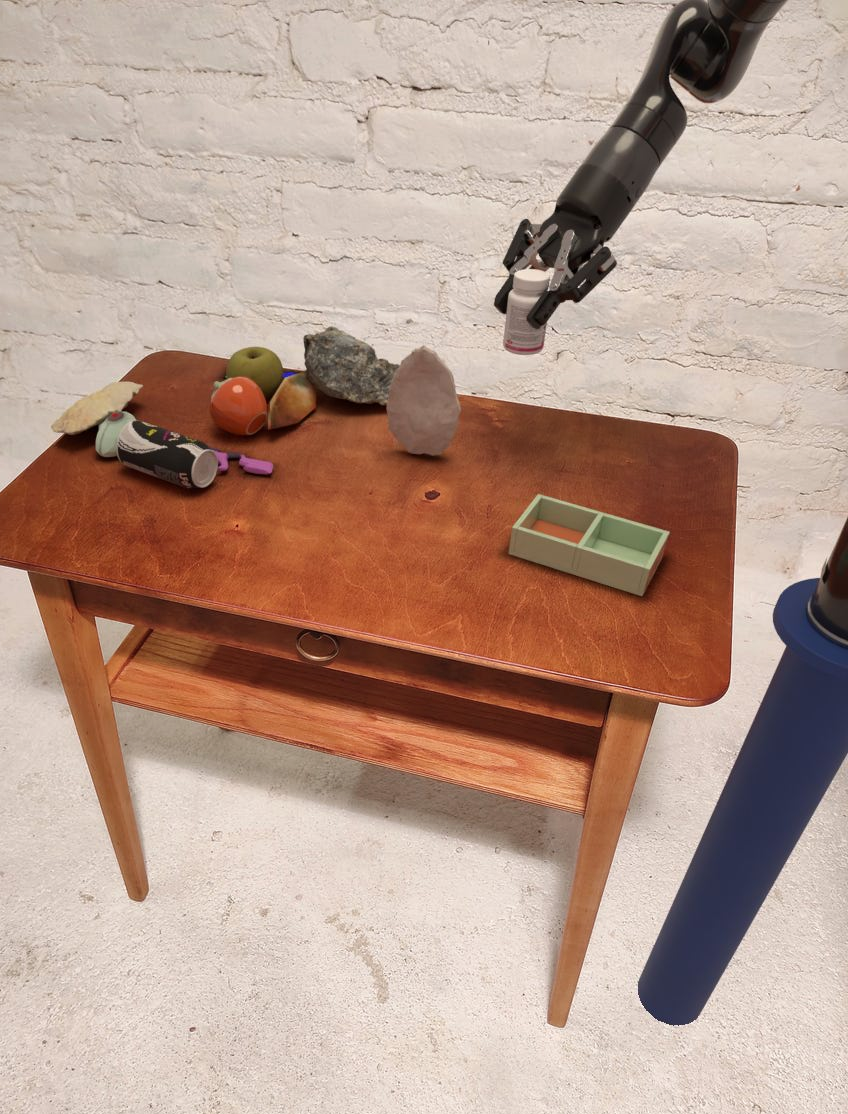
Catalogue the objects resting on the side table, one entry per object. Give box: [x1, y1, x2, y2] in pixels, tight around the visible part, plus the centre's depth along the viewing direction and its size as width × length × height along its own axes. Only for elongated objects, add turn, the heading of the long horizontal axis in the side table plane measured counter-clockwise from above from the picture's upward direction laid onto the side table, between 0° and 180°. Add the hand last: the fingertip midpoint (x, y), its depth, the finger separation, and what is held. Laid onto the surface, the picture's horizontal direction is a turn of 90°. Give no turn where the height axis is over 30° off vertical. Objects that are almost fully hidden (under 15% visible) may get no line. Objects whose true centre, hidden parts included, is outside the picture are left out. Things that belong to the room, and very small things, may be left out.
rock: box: [302, 326, 400, 406], centre depth 119 cm, size 14×10×10 cm
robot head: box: [95, 411, 137, 458], centre depth 109 cm, size 8×4×7 cm
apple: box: [225, 346, 284, 405], centre depth 118 cm, size 8×8×7 cm
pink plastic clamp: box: [208, 446, 274, 475], centre depth 109 cm, size 21×1×5 cm
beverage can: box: [116, 419, 219, 490], centre depth 104 cm, size 6×6×12 cm
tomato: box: [209, 376, 268, 436], centre depth 113 cm, size 7×7×8 cm
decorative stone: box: [267, 370, 317, 431], centre depth 116 cm, size 14×6×3 cm
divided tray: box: [507, 493, 671, 597], centre depth 94 cm, size 15×8×4 cm, turn 61°
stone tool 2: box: [386, 344, 462, 457], centre depth 105 cm, size 9×3×15 cm, turn 80°
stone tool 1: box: [50, 381, 144, 436], centre depth 114 cm, size 8×4×15 cm
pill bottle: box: [502, 268, 551, 356], centre depth 101 cm, size 5×5×8 cm
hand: (515, 316), depth 100 cm, fingers closed on pill bottle, 4 cm apart
